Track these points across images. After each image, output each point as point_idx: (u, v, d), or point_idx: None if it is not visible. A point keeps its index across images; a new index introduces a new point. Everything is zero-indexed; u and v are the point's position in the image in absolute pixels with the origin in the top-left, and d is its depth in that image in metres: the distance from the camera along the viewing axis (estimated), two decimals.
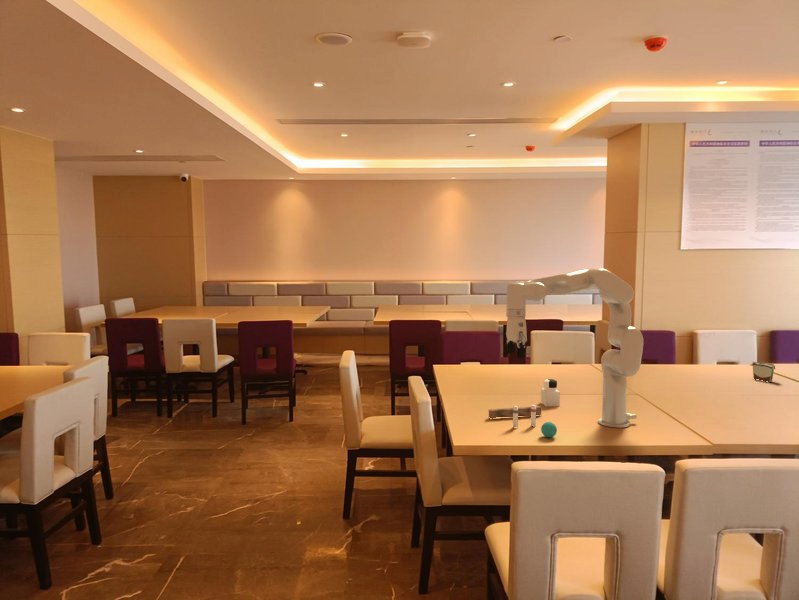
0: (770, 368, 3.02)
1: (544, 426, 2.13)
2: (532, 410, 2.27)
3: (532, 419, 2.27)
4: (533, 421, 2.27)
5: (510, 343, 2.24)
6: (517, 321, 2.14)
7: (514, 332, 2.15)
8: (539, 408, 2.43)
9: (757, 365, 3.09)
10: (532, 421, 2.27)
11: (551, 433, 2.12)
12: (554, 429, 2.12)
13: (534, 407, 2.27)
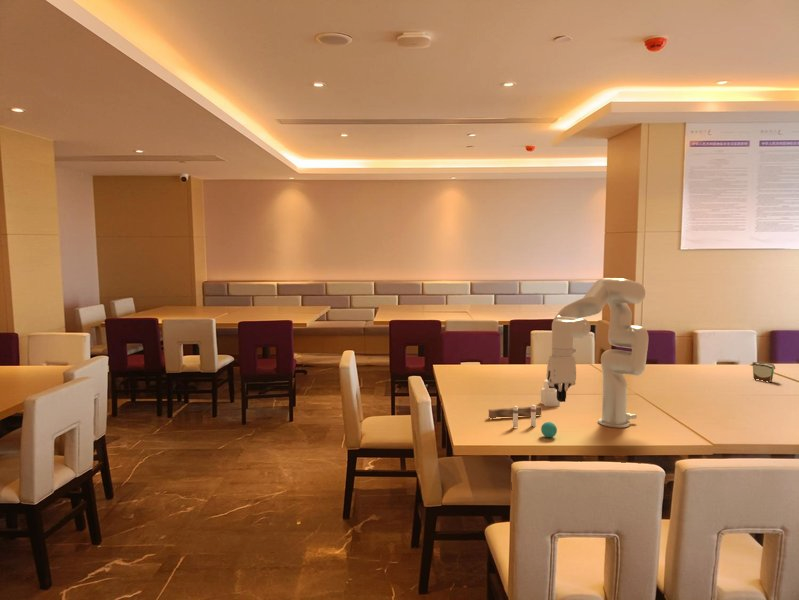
0: (770, 368, 3.02)
1: (544, 426, 2.13)
2: (532, 410, 2.27)
3: (532, 419, 2.27)
4: (533, 421, 2.27)
5: None
6: None
7: (574, 372, 2.02)
8: (539, 408, 2.43)
9: (757, 365, 3.09)
10: (532, 421, 2.27)
11: (551, 433, 2.12)
12: (554, 429, 2.12)
13: (534, 407, 2.27)
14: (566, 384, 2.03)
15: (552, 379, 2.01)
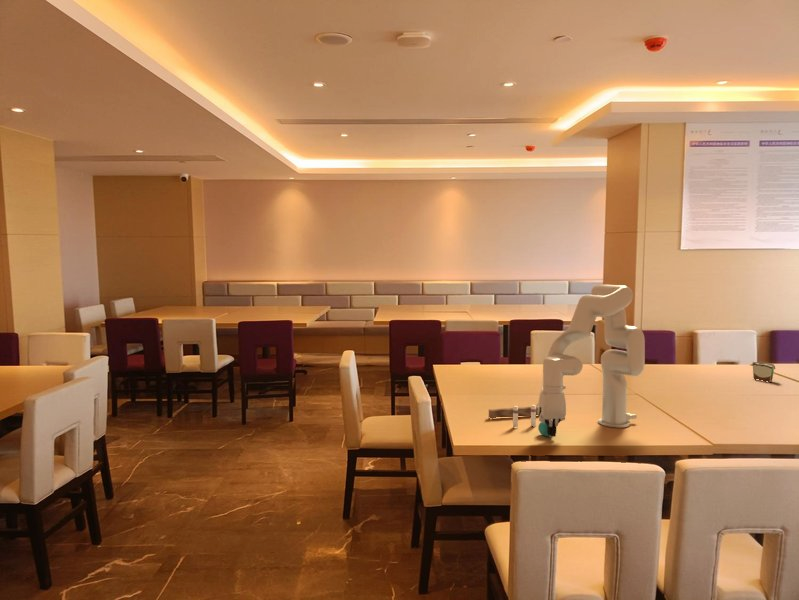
0: (770, 368, 3.02)
1: (540, 424, 2.16)
2: (532, 410, 2.27)
3: (532, 419, 2.27)
4: (533, 421, 2.27)
5: (551, 423, 2.11)
6: None
7: (563, 408, 2.10)
8: None
9: (757, 365, 3.09)
10: (532, 421, 2.27)
11: None
12: None
13: (534, 407, 2.27)
14: (556, 419, 2.10)
15: (543, 415, 2.08)
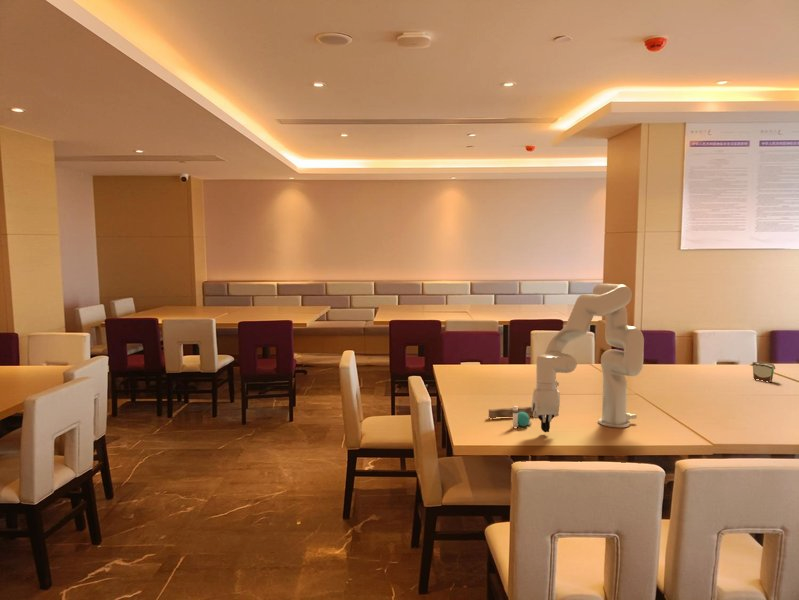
0: (770, 368, 3.02)
1: (523, 422, 2.26)
2: None
3: None
4: None
5: (545, 418, 2.17)
6: (557, 392, 2.16)
7: (557, 404, 2.15)
8: None
9: (757, 365, 3.09)
10: None
11: None
12: None
13: None
14: (550, 415, 2.16)
15: (536, 411, 2.14)
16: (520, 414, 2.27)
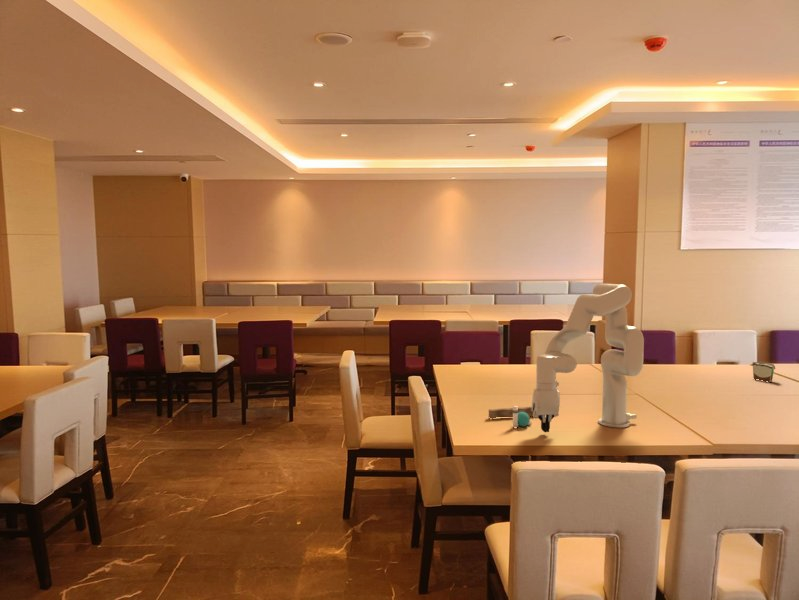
0: (770, 368, 3.02)
1: (523, 422, 2.26)
2: None
3: None
4: None
5: (545, 418, 2.17)
6: (557, 392, 2.16)
7: (557, 404, 2.15)
8: None
9: (757, 365, 3.09)
10: None
11: None
12: None
13: None
14: (550, 415, 2.16)
15: (536, 411, 2.14)
16: (520, 414, 2.27)
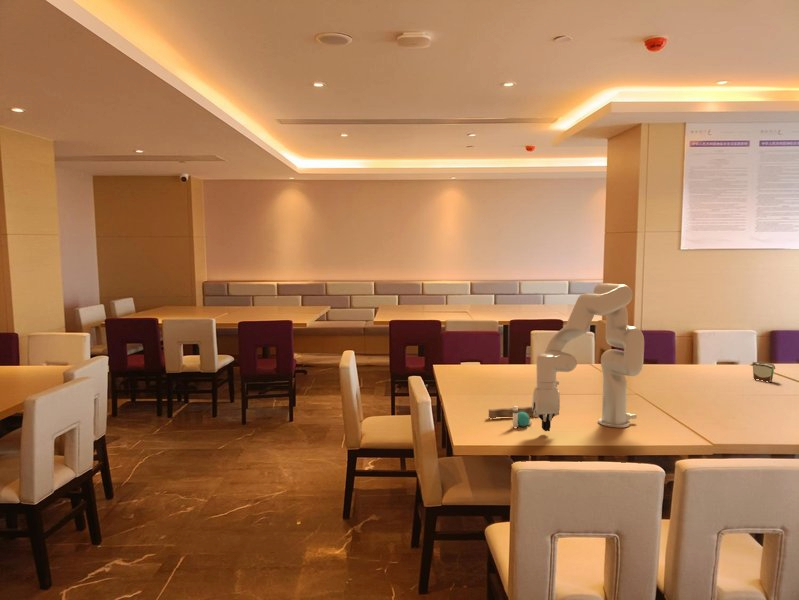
0: (770, 368, 3.02)
1: (523, 422, 2.26)
2: None
3: None
4: None
5: (545, 418, 2.17)
6: None
7: (557, 403, 2.15)
8: None
9: (757, 365, 3.09)
10: None
11: None
12: None
13: None
14: (550, 414, 2.16)
15: (537, 410, 2.14)
16: (520, 414, 2.27)
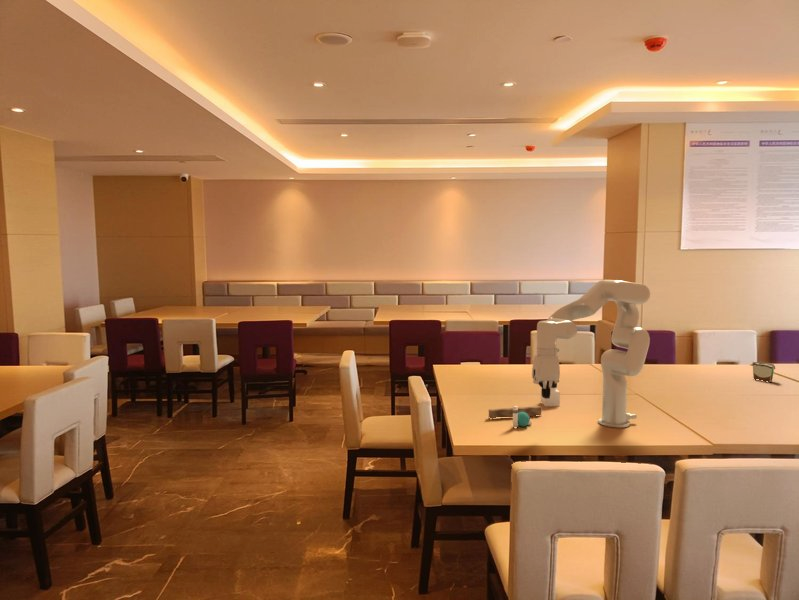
0: (770, 368, 3.02)
1: (523, 422, 2.26)
2: None
3: None
4: None
5: (545, 385, 2.16)
6: None
7: (557, 370, 2.14)
8: (539, 408, 2.43)
9: (757, 365, 3.09)
10: None
11: None
12: None
13: None
14: (550, 382, 2.15)
15: (537, 377, 2.13)
16: (520, 414, 2.27)
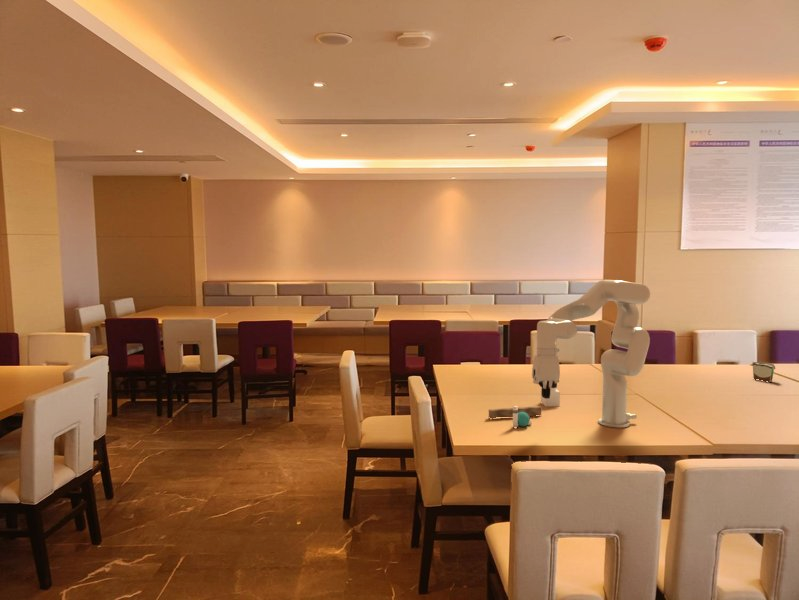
0: (770, 368, 3.02)
1: (523, 422, 2.26)
2: None
3: None
4: None
5: (545, 385, 2.16)
6: None
7: (557, 370, 2.14)
8: (539, 408, 2.43)
9: (757, 365, 3.09)
10: None
11: None
12: None
13: None
14: (550, 382, 2.15)
15: (537, 377, 2.13)
16: (520, 414, 2.27)
